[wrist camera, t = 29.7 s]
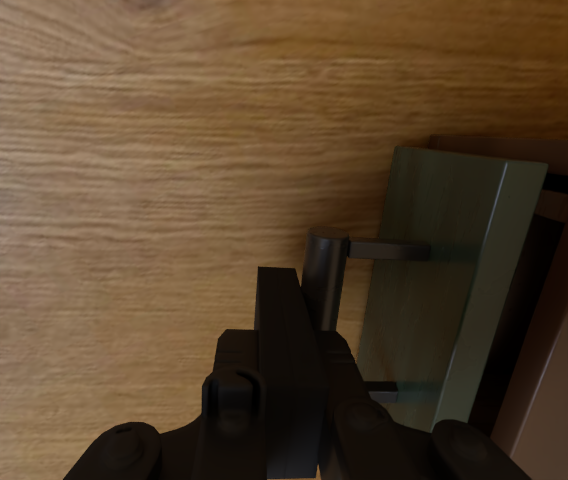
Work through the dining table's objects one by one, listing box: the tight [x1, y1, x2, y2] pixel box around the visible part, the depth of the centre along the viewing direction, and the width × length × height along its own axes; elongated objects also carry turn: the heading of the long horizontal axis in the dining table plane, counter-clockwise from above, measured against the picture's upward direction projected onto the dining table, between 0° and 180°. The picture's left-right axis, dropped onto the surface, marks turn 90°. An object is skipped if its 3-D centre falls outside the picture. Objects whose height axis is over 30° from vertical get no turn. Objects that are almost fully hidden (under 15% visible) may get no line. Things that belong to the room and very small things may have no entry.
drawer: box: [301, 146, 568, 438], centre depth 14 cm, size 19×13×7 cm
